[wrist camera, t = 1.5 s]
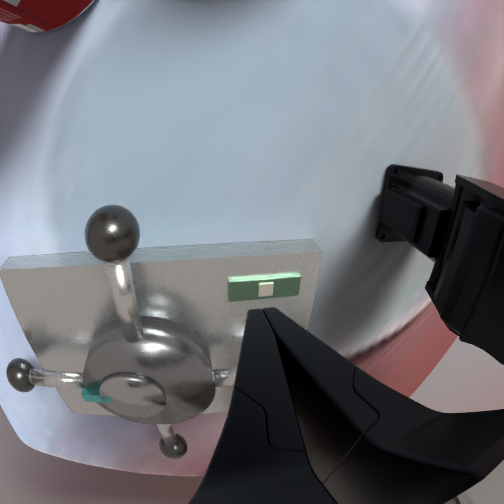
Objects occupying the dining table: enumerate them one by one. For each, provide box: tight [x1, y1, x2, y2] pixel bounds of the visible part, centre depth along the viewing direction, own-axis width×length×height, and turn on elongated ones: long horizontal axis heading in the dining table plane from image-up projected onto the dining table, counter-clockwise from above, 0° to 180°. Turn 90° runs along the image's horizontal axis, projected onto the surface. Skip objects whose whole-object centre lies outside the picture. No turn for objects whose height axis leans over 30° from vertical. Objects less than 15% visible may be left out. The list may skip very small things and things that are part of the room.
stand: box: [0, 239, 323, 416], centre depth 22 cm, size 24×18×2 cm
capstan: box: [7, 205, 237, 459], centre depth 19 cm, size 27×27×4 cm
